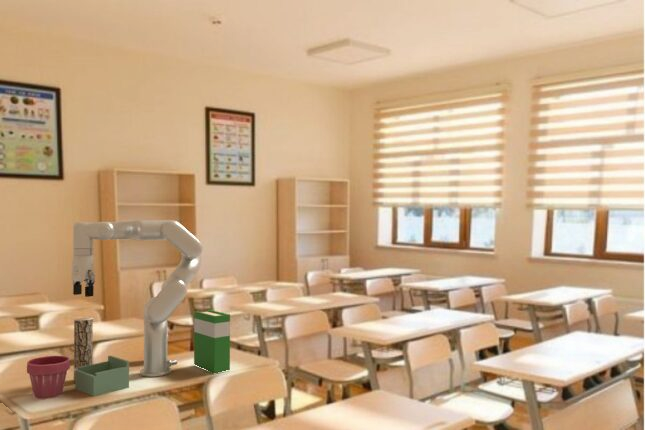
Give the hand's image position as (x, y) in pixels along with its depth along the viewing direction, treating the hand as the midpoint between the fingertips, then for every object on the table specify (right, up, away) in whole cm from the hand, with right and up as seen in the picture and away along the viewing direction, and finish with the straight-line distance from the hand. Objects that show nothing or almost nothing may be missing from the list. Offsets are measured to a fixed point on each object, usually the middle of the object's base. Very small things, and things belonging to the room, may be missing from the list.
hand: (83, 295), depth 216 cm
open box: (+12, -34, -11) cm, 38 cm away
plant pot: (-4, -34, -19) cm, 39 cm away
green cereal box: (+48, -35, +18) cm, 62 cm away
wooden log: (0, -34, -1) cm, 34 cm away
